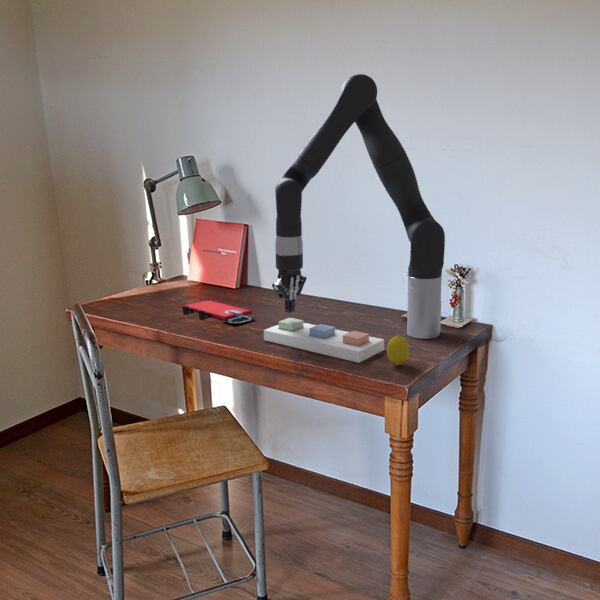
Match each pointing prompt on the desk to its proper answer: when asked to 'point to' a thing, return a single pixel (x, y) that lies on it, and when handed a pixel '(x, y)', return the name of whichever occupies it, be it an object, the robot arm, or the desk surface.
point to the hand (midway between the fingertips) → (290, 312)
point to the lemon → (398, 350)
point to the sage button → (290, 324)
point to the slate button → (322, 331)
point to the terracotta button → (356, 338)
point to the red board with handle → (218, 311)
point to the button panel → (324, 343)
